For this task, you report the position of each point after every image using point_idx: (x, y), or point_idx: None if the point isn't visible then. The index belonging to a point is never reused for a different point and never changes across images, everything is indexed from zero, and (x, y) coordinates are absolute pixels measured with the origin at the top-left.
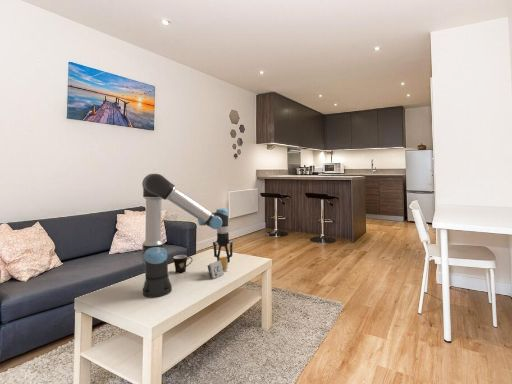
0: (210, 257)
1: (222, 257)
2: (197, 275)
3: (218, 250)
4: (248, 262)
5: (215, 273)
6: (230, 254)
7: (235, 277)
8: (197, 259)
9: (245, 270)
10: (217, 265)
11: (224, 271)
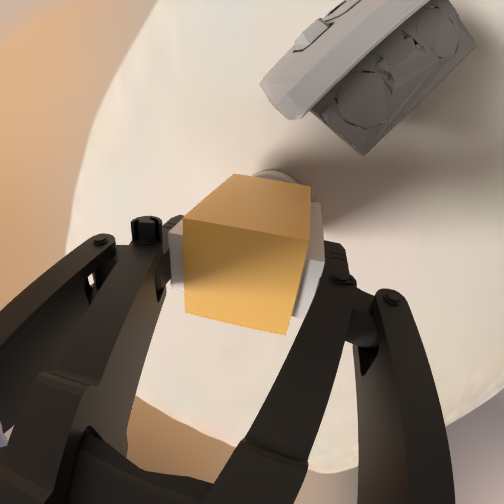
0: (352, 434)
1: (253, 273)
2: (496, 135)
3: (323, 389)
4: None
5: (342, 4)
6: (87, 257)
7: (151, 34)
8: None
9: (99, 195)
10: (329, 29)
11: (261, 172)
